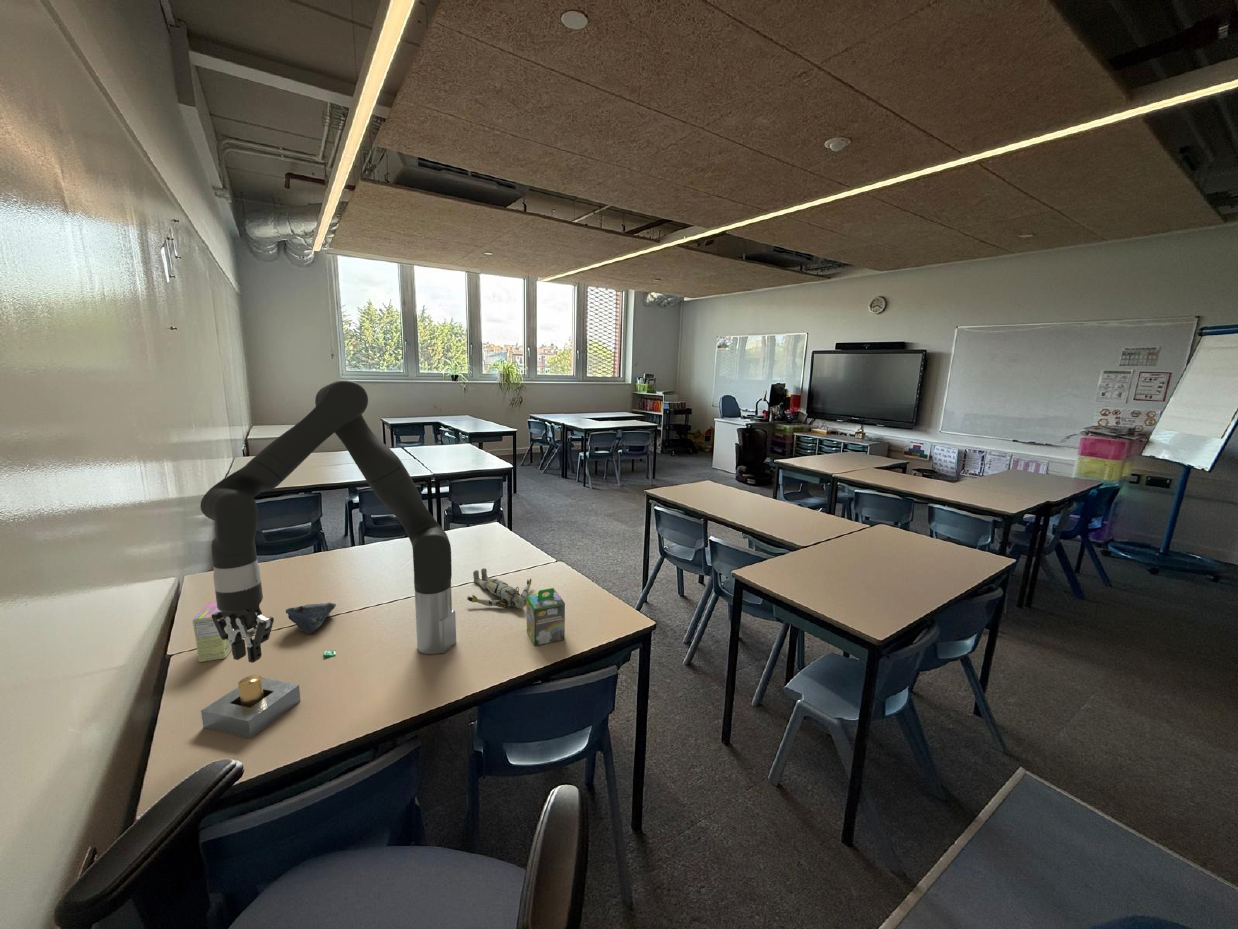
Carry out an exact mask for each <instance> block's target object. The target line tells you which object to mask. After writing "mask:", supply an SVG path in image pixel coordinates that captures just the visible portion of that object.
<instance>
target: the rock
mask: <svg viewBox="0 0 1238 929" xmlns="http://www.w3.org/2000/svg"><path fill="white" fill-rule="evenodd" d="M336 607H337V603H332V602H326V603H310V604H309V603H308V604H305V605H300V606H296V607H289V608H287V609H285V613H286V614H288V615H287V616H288V617H287V618H288V619H289V621H291V622H293V623H294V624H295V625H296V626H297V627H298V629H299V630H300V631H301V632H304V633H305V634H308V635H312V634H313V633H314V632H315V631H316V630H317V629H319V627H320V626H322V624H323V622H324V620H326V618H327V617H328V616H329V615H330V613H331V612H332V611H333V610H334V609H335V608H336Z"/></svg>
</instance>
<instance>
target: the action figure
mask: <svg viewBox="0 0 1238 929" xmlns="http://www.w3.org/2000/svg"><path fill="white" fill-rule="evenodd" d="M480 572H481V573H480ZM480 572H479V570H478V569H476V570H474V571H473V574H472V576H473V577H472V578H473V582H474V583H475V584H478V585H479V586H481V588H482V589H483V590H486V589H487V590H489V591H490V592H491V593H493V594H496V596H497V597H500V598H501V599H500V600H498V599H497V600H495V599H494V600H490V599H483V598H482V599H481V598H478V597H477V596H476V595H471V596H467V597H466V598H467V601H469V602H472V603H477V604H481V605H484V606H486V607H499V608H506V607H509V608H510V606H511V607H515V608H518V609H520V608H523V606H525V602H526V596H528V595H529V591H530V588H531V585H532V578H529V579H527V581H526V586H525V588H524V589H523V590H522V593H519V591H520V588H519V586H517V587H512V586H510V585H509V584H508V583H506V582H505V581H503V580H501V579H499V578H497V577H496V578H491V577H489V576H488V574H487V572H488V571H487V568H482V569H481V570H480ZM479 574H481V578H480V575H479Z"/></svg>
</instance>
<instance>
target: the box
mask: <svg viewBox="0 0 1238 929" xmlns="http://www.w3.org/2000/svg"><path fill="white" fill-rule="evenodd" d="M218 611H220V610H219V609H218V608H217V601H209V602H208V604H207V605H206V606H204V608H202V610H201V611H200V612H199V613H198V614H197V615H196V616H195V617H194V618H193V619H192V626H193V632H194V637H195V642H196V650H197V657H198V662H199V663H203V662H211V661H217V660H223V659H226V658H227V656H229V654H230V653H231V652H232V647H231V644H229V642H228V640H227V639H226V640H222V639H221V637H220V635H219V632H218V630H217V628H216V626H215V624H214V622H213V619H212V617H211V615H212V614H214V613H216V612H218ZM222 622H223V621H222ZM224 630H225V632H226V627H224Z"/></svg>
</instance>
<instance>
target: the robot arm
mask: <svg viewBox="0 0 1238 929" xmlns="http://www.w3.org/2000/svg"><path fill="white" fill-rule="evenodd" d="M314 402H315V406H314V408H313V409H312V410H311V411H310V412H309V413H307V415H306V416H304V417H303V418H302V419H301V420H300V421H299V422H297V423H296V424H294V426H292V427H291V428H289V429H288V430H286V431H285V432H284V433H282V434H281V435H280V436H277V438H275V439H274V440H273V441H272V442H270V443H269V444H268V445H267V446H266V447H265V446H264V448H262V450H261V451H259V452H258V453H257V454H256V455H255V456H254V457H252V459H251V460H250V461H249V462H247V463H246V464H245V465H244V466H243V467H241V468H240V469H238V470H236V471H234V472H233V473H231V474H229V475H227V476H226V477H224V478H223V479H221V480H220V481H218V482H217V483H216V484H214V485H213V486H212V487H211V488H210V489H209V490H207V491H206V493H205V494H204V495H203V496H202V498H201V501H200V507H199V508H200V511H201V512H202V514H203V515H204V516H205V517H206V518H208V519H209V520H212V521H214V522H216V537H214V539H213V540H212V542H211V546H210V547H211V556H212V564H213V576H212V577H213V584H214V585H213V586H214V591H215V592H214V593H215V600H216V601H217V608H218V609H219V610H220V611H218V612H216V613H214V614H212V615H211V617H212V619H213V622H214V624H215V626H216V628H217V630H218V632H219V635H220V637H221V639H222V640H226V639H227V640H228V642H229V644H231V647H232V649H231V653H232V657H233V660H235V661H239V660H241V659H243V658H244V657H246V655H247V658H248V659H247V660H248V663H255V662H257V661H258V660H261V657H262V656H263V654H262V648H261V646H262V645H261V644H263V643H265V642H267V641H268V640H269V639H270V636H271V633H272V628H273V624H274V621H275V619H274V617H273V616H268V617H266V616H265V615H263V612H262V609H261V607H260V604H261V603H262V601H263V600H264V595H263V587H262V577H261V569H260V568H261V567H260V565H259V562H258V555H257V546H256V541H255V540H256V539H255V538H256V535H257V527H258V521H259V510H258V509H259V508H258V505H257V502H256V500H255V498H256V496H258V495H259V494H261V493H263V492H267V491H272V490H274V489H276V488H277V487H278V486H279V485H280V484H281V483H282V482H283V481H285V480H286V478H288V477H289V476H290V475H291V474H292V473H293V472H294V471H295V470H296V469H297V468H298V467H299V466H300V465H302V463H303V462H304V461H305V460H306V459H307V458H308V457H309V456H310V455H311V454H313V452H314V451H315V450H316V449H318V447H320V445H322V444H323V443H324V442H325V441H326V440H327V439H328V438H330V437H331V436H332V435H334V434H335V435H336V436H337V438H339V440H340V442H342V444H343V445H344V447H345V448H346V450H347V451H348V453H349V455H350V457H351V459H352V460H353V462H354V463H355V465H356V466H357V468H358V470H359V471H360V473H361V475H362V476H363V478H364V479H365V481H366V482H367V484H368V485H369V487H370V489H371V491H372V492H373V493H374V495H375V496H376V497H377V498H378V500H379V502H381V503H382V504H383V505H384V507H385V508H386V509H387V510H388V511H389V512H391V513H392V514H393V515H394V516H395V517H396V519H397V520H398V521H399V523H400V524H401V525H402V528H403V529H404V531H405V534H406V535H407V537H408V539H409V541H410V543H411V546H412V547H411V548H412V562H413V584H414V585H413V586H414V587H413V588H414V604H415V626H416V647H417V651H418V652H419V653H421V654H423V655H437V654H446V653H447V651H449V650H450V649H451V647H453V646H454V645H455V644H456V643H457V625H456V624H457V623H456V622H457V621H456V619H457V618H456V610H453V604H452V603H453V601H452V600H453V598H452V572H453V571H452V567H453V566H452V548H451V547H452V546H451V542H450V538H449V537H448V536H449V535H448V534H447V533H446V532H445V530H444V529H443V528H442V527H441V525H440V524H439V523H438V522H437V520H436V519H435V518H434V516H433V515H432V513H430V511H429V509H428V508H427V507H426V505H425V503H424V501H423V499H422V497H421V495H420V491H419V490H418V488H417V486H416V484H415V482H414V480H413V479H412V477H411V475H410V473H409V471H408V470H407V468H406V466H405V465H404V463H403V462H402V461H401V459H400V458H399V456H398V455H397V454H396V453H395V452H394V451H393V450H392V449H391V448H390V447H388V446H387V445H386V444H385V443H384V442H383V441H382V440H381V439H379V437H378V436H377V435H376V434H375V433H374V431H373V430H372V429H371V428H370V427H369V424H367V421H366V420H365V417H364V416H363V414H364V413H365V411H366V410H367V408H368V404H369V396H368V393H367V391H366V389H365V388H364V387H363V386H362V385H360V384H359V383H357V382H355V381H353V380H347V379H346V380H345V379H341V380H335V381H333V382H332V383H329V384H327V385H326V386H323V387H322V388H320V389H319V390H318V392H317V393H316V395H315V401H314ZM222 621H223V622H222ZM224 627H226V632H225V630H224ZM252 636H254V638H252Z"/></svg>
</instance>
